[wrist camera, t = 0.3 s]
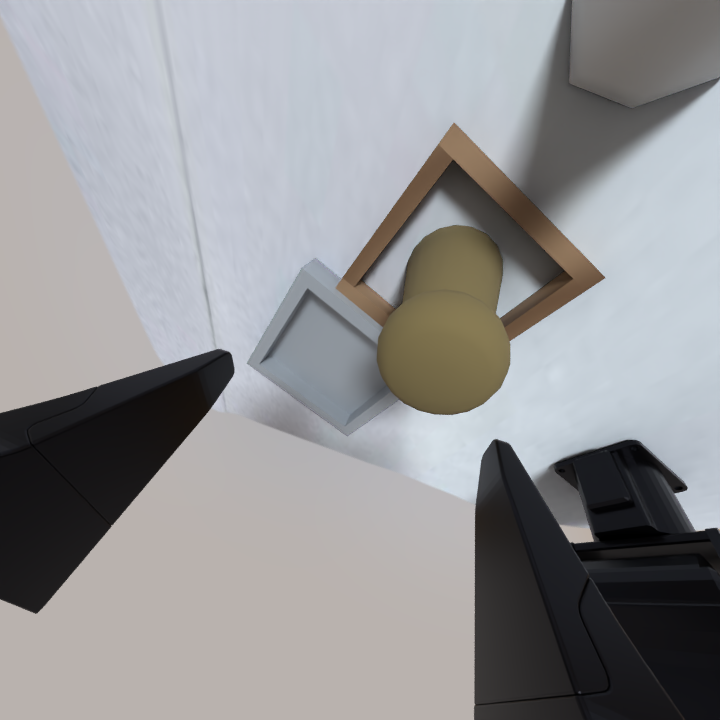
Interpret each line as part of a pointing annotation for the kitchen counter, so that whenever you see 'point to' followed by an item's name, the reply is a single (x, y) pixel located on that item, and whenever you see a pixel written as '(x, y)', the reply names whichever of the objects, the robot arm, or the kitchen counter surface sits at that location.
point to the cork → (447, 325)
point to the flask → (643, 47)
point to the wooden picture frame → (512, 200)
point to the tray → (324, 352)
